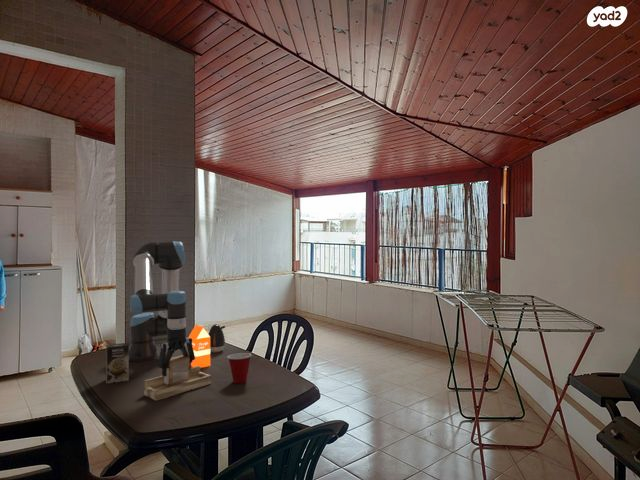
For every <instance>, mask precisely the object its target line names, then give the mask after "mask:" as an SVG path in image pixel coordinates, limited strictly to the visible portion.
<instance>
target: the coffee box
mask: <svg viewBox="0 0 640 480" xmlns="http://www.w3.org/2000/svg"><path fill="white" fill-rule="evenodd" d="M129 347H130V344H129V343H128V342H121V343H111V344H110V343H109V344H106V368H105V369H106V372H105V373H106V374H105V375H106V384H107V383H108V384H113V382H115V383H121V381H122V382H128V381H130V380H129V379H130V378H129V377H130V376H129V373H130V372H129V369H130V368H129V367H130V366H129V365H130V364H129V362H130V360H129Z"/></svg>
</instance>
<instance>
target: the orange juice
mask: <svg viewBox="0 0 640 480" xmlns="http://www.w3.org/2000/svg"><path fill="white" fill-rule="evenodd" d="M188 338H192V346H193V351H194V355H195V360H192V361H193V362H192V363H191V368H192V367H196V366H200V369H201V368H206V367H211V351H210V336H209V332H208V331H207V330H206V329H205V328H204V326H201V325H199V324H195V325H194V327H193V328H192V330H191V332H190V333H189V335H188Z"/></svg>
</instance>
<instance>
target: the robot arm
mask: <svg viewBox="0 0 640 480" xmlns="http://www.w3.org/2000/svg"><path fill="white" fill-rule="evenodd" d="M185 255H186V254H185V248H184V244H183V242H182V241H173V240H172V241H170V240H169V241H168V240H167V241H166V240H165V241H153V240H152V241H148V242H146V243H144V244H142V245H141V246H140V247H138V249H137V250H136V251H135V252H134V254H133V256H132V264H133V266H134V269H135V270H134V294H133V295H130V297H129V311H130V313H139V314H136V315H133V316H132V317H131V318H130V325H129V326H130V344H129V362H130V361H131V362H144V361H150V360H154V359H155V358H157V357H158V361H157V368H160V369H161V376H164V383H165V384H169V368H167V367H168V364H169V361H170V359H171V358H172V357H173V354H174V353H175V352H176V351H178V350H179V351H180V352H181V354H182V355H183V356H186V357H190V369H191V368H192V366H191V363H192V362H193V361H192V360H195V355H194V351H193V346H192V338H189V337H187V338H186V336H187V328H186V327H187V323H186V322H187V321H186V320H187V315H186V314H187V313H186V312H187V296H186V293H187V292H186V291H184V290H180V289H179V287H180V270H181V269H182V268H183V265H184V264H186V256H185ZM154 265H158V268H159V269H160V270H161V293H154V286H153V285H154V283H153V282H154V281H153V266H154ZM154 312H158V314H155V313H154ZM157 337H167V341H166V342H161V343H160V351H159V356H158V349H157V347H156V344H155V338H157ZM185 343H186V345H185Z"/></svg>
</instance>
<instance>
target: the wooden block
mask: <svg viewBox="0 0 640 480" xmlns="http://www.w3.org/2000/svg"><path fill="white" fill-rule="evenodd" d="M167 368H169V384H167V385H170V386H172V385H175V384H178V383H182V382H185V381H189V380H190V357H186V356H183V354H182V355H181V354H180V355H177V356H172V357H171V359H170V361H169V364H168V367H167Z"/></svg>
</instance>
